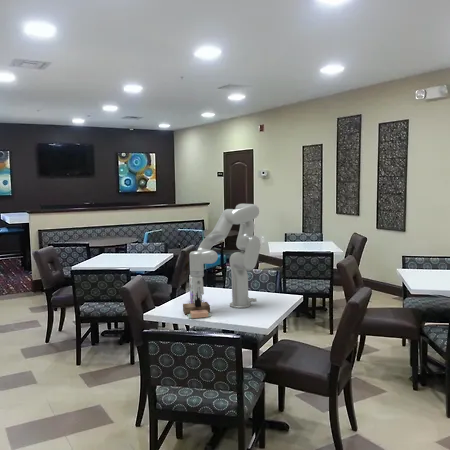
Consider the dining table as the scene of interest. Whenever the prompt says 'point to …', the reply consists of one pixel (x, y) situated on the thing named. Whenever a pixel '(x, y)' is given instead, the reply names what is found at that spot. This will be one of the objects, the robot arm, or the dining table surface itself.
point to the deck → (191, 307)
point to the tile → (199, 313)
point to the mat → (201, 317)
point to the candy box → (192, 295)
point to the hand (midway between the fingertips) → (198, 306)
